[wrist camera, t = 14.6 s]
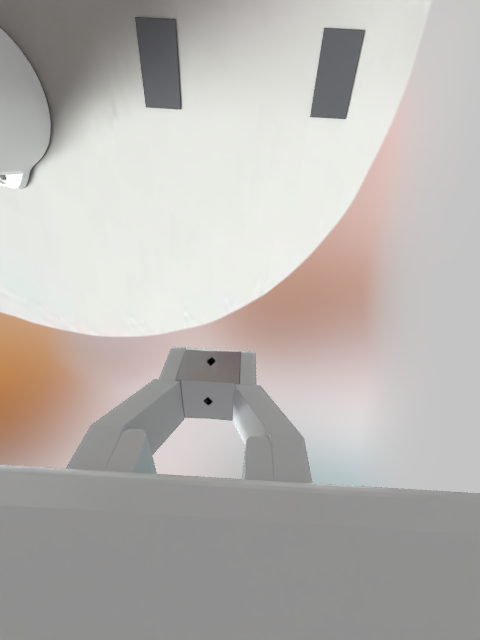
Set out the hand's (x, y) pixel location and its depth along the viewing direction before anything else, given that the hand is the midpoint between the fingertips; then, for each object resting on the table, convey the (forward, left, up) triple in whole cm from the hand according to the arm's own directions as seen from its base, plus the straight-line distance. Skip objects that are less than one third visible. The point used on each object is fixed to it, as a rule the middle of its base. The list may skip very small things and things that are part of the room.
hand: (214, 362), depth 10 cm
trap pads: (0, +13, -31) cm, 34 cm away
